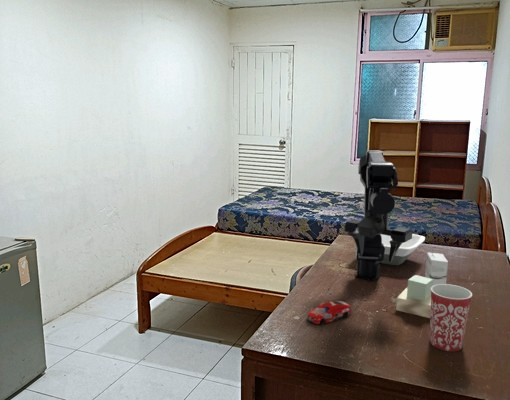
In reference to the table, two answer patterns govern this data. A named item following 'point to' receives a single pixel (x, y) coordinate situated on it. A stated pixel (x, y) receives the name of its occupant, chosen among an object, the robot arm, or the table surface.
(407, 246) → the bowl
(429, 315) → the slab
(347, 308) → the race car
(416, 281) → the cube
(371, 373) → the table surface
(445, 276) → the ink box
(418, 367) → the table surface
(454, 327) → the mug
